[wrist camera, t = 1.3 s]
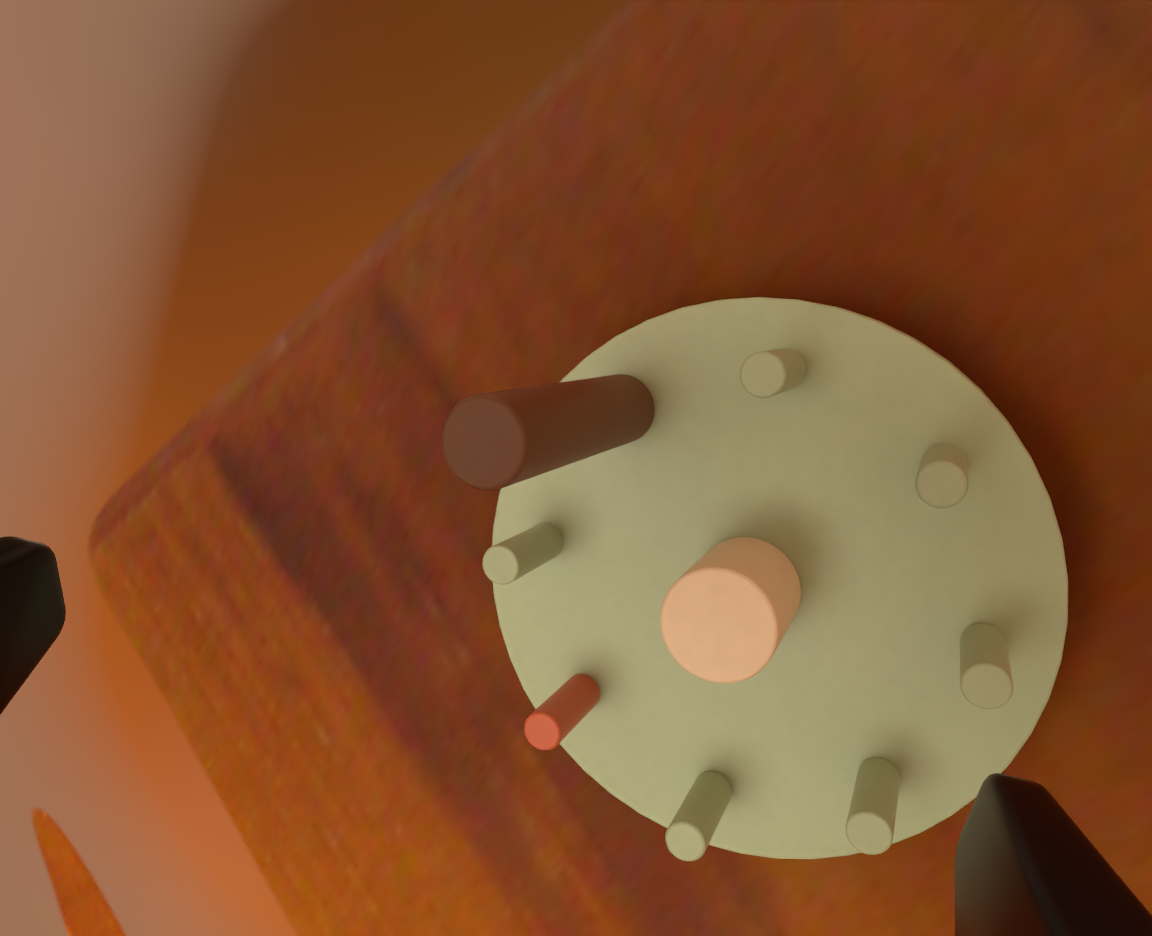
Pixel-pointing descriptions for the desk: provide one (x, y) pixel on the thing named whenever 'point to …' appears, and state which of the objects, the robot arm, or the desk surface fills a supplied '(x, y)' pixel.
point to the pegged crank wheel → (770, 575)
